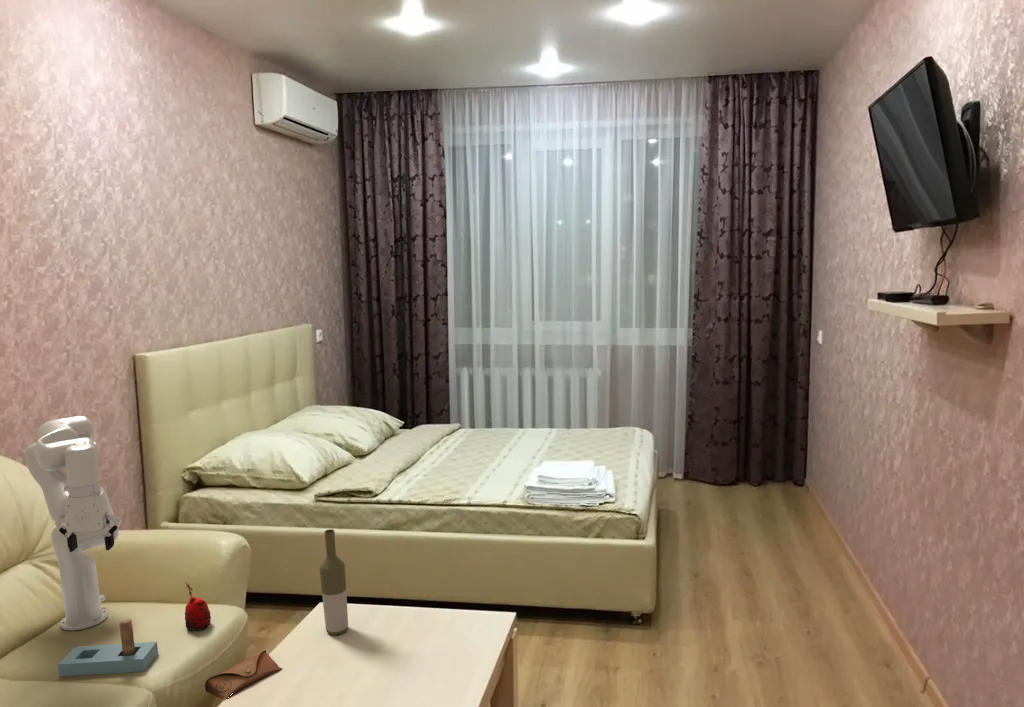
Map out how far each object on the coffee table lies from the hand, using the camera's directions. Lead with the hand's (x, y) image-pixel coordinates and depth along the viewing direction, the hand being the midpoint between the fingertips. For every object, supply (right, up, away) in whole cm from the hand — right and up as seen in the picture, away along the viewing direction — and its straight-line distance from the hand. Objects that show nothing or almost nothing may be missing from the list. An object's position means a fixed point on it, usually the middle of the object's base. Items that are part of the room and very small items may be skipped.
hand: (91, 549), depth 211 cm
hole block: (+7, -30, -4) cm, 31 cm away
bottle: (+66, -26, +9) cm, 71 cm away
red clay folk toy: (+23, -27, +15) cm, 39 cm away
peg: (+13, -30, -4) cm, 33 cm away
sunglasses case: (+47, -31, -14) cm, 58 cm away
